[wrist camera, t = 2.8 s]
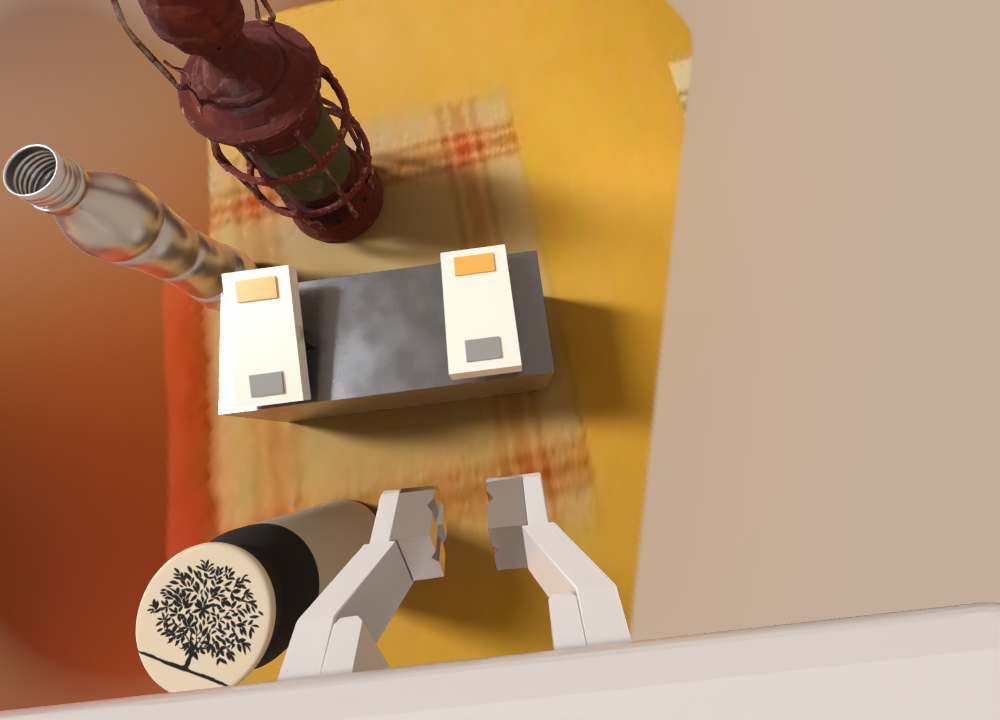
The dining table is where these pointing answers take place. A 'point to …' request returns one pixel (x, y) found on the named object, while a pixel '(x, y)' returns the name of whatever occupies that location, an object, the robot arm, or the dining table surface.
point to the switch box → (395, 344)
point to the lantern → (269, 112)
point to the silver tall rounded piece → (122, 222)
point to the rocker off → (266, 336)
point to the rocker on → (479, 313)
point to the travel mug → (243, 594)
